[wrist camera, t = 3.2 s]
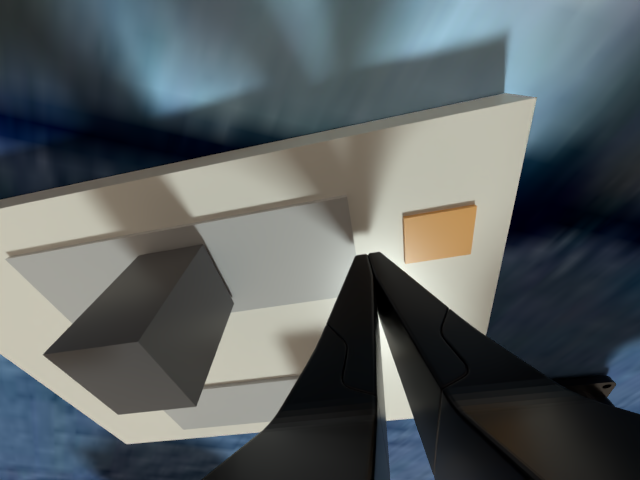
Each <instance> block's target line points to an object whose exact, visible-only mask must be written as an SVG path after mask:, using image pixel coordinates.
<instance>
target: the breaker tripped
mask: <svg viewBox="0 0 640 480" xmlns="http://www.w3.org/2000/svg"><path fill="white" fill-rule="evenodd" d="M233 305H234V302H233V300H232V298H231V296H230V294H229V293H228V291H227V289H226V287H225V285H224V283H223V281H222V279H221V277H220V275H219V274H218V272H217V270H216V268H215V266H214V264H213V262H212V260H211V258H210V256H209V255H208V253H207V251H206V249H205V247H204V245H203V244H201V245H195V246H189V247H184V248H178V249H172V250H166V251H161V252H155V253H149V254H143V255H139V256H138V257H137V258H136V259H135V260H134V261H133V262H132V263H131V264H130V265H129V266H128V267H127V268H126V269H125V270H124V271H123V272H122V273H121V274H120V275H119V276H118V277H117V278H116V279H115V280H114V281H113V282H112V283H111V284H110V286H109V287H108V288H107V289H106V290H105V291H104V292H103V293H102V294H101V295H100V296H99V297H98V298H97V299H96V300H95V301H94V302H93V303H92V304H91V305H90V306H89V307H88V308H87V309H86V310H85V311H84V312H83V313H82V314H81V315H80V316H79V317H78V319H77V320H76V321H75V322H74V323H73V324H72V325H71V326H70V327H69V328H68V329H67V330H66V331H65V332H64V333H63V334H62V335H61V336H60V337H59V338H58V339H57V340H56V341H55V342H54V343H53V344H52V345H51V346H50V347H49V348H48V349H47V350H46V352H45V353H44V354H43V356H45V357H46V358H47V359H48V360H50V361H51V362H52V363H53V364H55V365H56V366H57V367H58V368H60V369H61V370H62V371H63V372H65V373H66V374H67V375H68V376H70V377H71V378H72V379H74V380H75V381H76V382H77V383H79V384H80V385H81V386H82V387H84V388H85V389H86V390H87V391H89V392H90V393H91V394H92V395H94V396H95V397H96V398H97V399H99V400H100V401H101V402H102V403H104V404H105V405H106V406H107V407H109V408H110V409H111V410H112V411H114V412H115V413H116V414H118V415H122V414H131V413H141V412H150V411H160V410H170V409H179V408H189V407H196V406H197V404H198V401H199V398H200V395H201V393H202V390H203V387H204V384H205V382H206V379H207V376H208V373H209V371H210V368H211V365H212V363H213V360H214V357H215V354H216V352H217V349H218V346H219V343H220V341H221V338H222V335H223V333H224V330H225V327H226V324H227V322H228V319H229V316H230V313H231V311H232V308H233Z"/></svg>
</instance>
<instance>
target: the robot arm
mask: <svg viewBox="0 0 640 480" xmlns="http://www.w3.org/2000/svg"><path fill="white" fill-rule="evenodd" d="M378 315H379V317H378ZM379 318H380V322H381V325H382V328H383V331H384V333H385V336H386V339H387V342H388V345H389V348H390V351H391V354H392V357H393V359H394V362H395V365H396V368H397V371H398V374H399V377H400V380H401V383H402V385H403V388H404V391H405V394H406V397H407V400H408V403H409V406H410V409H411V411H412V414H413V417H414V420H415V423H416V426H417V429H418V432H419V435H420V437H421V440H422V443H423V446H424V449H425V452H426V455H427V458H428V461H429V464H430V466H431V469H432V472H433V474H434V478H435V480H640V414H637V413H634V412H631V411H627V410H624V409H620V408H617V407H615V406H614V405H613V404H612V403H611V401H610V400H609V399H608V398H607V397H608V395H609V394H610V393H611V391H612V390H613V389H614V387H615V386H616V383H615V382H614V381H613V380H612V379H611V378H610V377H609V376H598V377H588V378H578V379H568V380H558V381H553V380H551V379H550V378H548V377H547V376H545V375H544V374H542V373H541V372H539V371H538V370H536V369H535V368H533V367H532V366H530V365H529V364H527V363H526V362H524V361H523V360H521V359H520V358H518V357H517V356H515V355H514V354H512V353H511V352H509V351H508V350H506V349H505V348H503V347H502V346H500V345H499V344H497V343H496V342H494V341H493V340H491V339H490V338H488V337H487V336H485V335H484V334H483V333H481V332H480V331H478V330H477V329H476V328H474V327H473V326H472V325H470V324H469V323H468V322H466V321H465V320H464V319H463V318H461V317H460V316H459V315H457V314H456V313H455V312H454V311H453V310H451V309H449V307H447V306H446V305H445V304H444V303H443V302H441V301H440V300H439V299H438V298H436V297H435V296H434V295H433V294H432V293H430V292H429V291H428V290H427V289H425V288H424V287H423V286H422V285H420V284H419V283H418V282H417V281H416V280H414V279H413V278H412V277H411V276H409V275H408V274H407V273H406V272H404V271H403V270H402V269H401V268H400V267H398V266H397V265H396V264H395V263H393V262H392V261H391V260H390V259H388V258H387V257H386V256H385V255H384V254H382V253H381V252H373V253H369V254H368V255H367V254H360V255H356V256H355V257H354V259H353V262H352V264H351V267H350V269H349V271H348V274H347V276H346V278H345V281H344V283H343V285H342V288H341V290H340V292H339V295H338V297H337V299H336V302H335V304H334V307H333V309H332V311H331V314H330V316H329V318H328V321H327V323H326V326H325V327H324V330H323V332H322V334H321V337H320V339H319V341H318V343H317V345H316V347H315V349H314V351H313V353H312V355H311V357H310V359H309V360H308V362H307V364H306V366H305V367H304V369H303V371H302V372H301V374H300V376H299V378H298V379H297V381H296V383H295V384H294V386H293V388H292V389H291V391H290V393H289V394H288V396H287V398H286V399H285V401H284V403H283V405H282V406H281V408H280V409H279V411H278V413H277V414H276V415H275V417H274V418H273V419H272V421H271V422H270V423H269V424H268V425H267V426H266V427H265V428H264V429H263V430H262V431H261V432H260V433H259V434H258V435H256V436H255V437H254V438H253V439H251V440H250V441H249V442H248V443H246V444H245V445H244V446H243V447H241V448H240V449H239V450H238V451H236V452H235V453H234V454H233V455H231V456H230V457H229V458H228V459H226V460H225V461H224V462H223V463H222V464H220V465H219V466H218V467H217V468H215V469H214V470H213V471H212V472H210V473H209V474H208V475H207V476H205V477H204V478H203V479H202V480H390V469H389V455H388V441H387V427H386V413H385V399H384V385H383V371H382V357H381V342H380V328H379Z"/></svg>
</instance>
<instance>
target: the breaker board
mask: <svg viewBox="0 0 640 480" xmlns="http://www.w3.org/2000/svg"><path fill="white" fill-rule="evenodd" d="M536 99H537V97H530V96H523V95H515V94H508V93H503V94H498V95H493V96H489V97H484V98H479V99H475V100H470V101H465V102H460V103H456V104H451V105H446V106H441V107H437V108H432V109H427V110H422V111H418V112H413V113H408V114H404V115H399V116H394V117H389V118H385V119H380V120H375V121H370V122H366V123H361V124H356V125H351V126H347V127H342V128H337V129H332V130H328V131H323V132H318V133H314V134H309V135H304V136H299V137H295V138H290V139H285V140H280V141H276V142H271V143H266V144H261V145H257V146H252V147H247V148H242V149H238V150H233V151H228V152H224V153H219V154H214V155H209V156H205V157H200V158H195V159H190V160H186V161H181V162H176V163H171V164H167V165H162V166H157V167H153V168H148V169H143V170H138V171H134V172H129V173H124V174H119V175H115V176H110V177H105V178H100V179H96V180H91V181H86V182H81V183H77V184H72V185H67V186H63V187H58V188H53V189H48V190H44V191H39V192H34V193H29V194H25V195H20V196H15V197H10V198H6V199H1V200H0V354H1V355H3V356H4V357H5V358H7V359H8V360H10V361H11V362H12V363H14V364H15V365H17V366H18V367H19V368H21V369H22V370H24V371H25V372H26V373H28V374H29V375H31V376H32V377H33V378H35V379H36V380H38V381H39V382H40V383H42V384H43V385H45V386H46V387H47V388H49V389H50V390H51V391H53V392H54V393H56V394H57V395H58V396H60V397H61V398H63V399H64V400H65V401H67V402H68V403H70V404H71V405H72V406H74V407H75V408H77V409H78V410H79V411H81V412H82V413H84V414H85V415H86V416H88V417H89V418H91V419H92V420H93V421H95V422H96V423H97V424H99V425H100V426H102V427H103V428H104V429H106V430H107V431H109V432H110V433H111V434H113V435H114V436H116V437H117V438H118V439H120V440H121V441H123V442H124V443H125V444H135V443H146V442H157V441H168V440H179V439H190V438H201V437H212V436H223V435H234V434H245V433H256V432H261V431H262V430H263V429H264V428H265V427H266V426H267V425H268V424H269V423H270V422H271V421H272V419H273V418H274V417H275V415H276V414H277V413H278V411H279V409H280V408H281V406H282V405H283V403H284V401H285V399H286V398H287V396H288V394H289V393H290V391H291V389H292V388H293V386H294V384H295V383H296V381H297V379H298V378H299V376H300V374H301V372H302V371H303V369H304V367H305V366H306V364H307V362H308V360H309V359H310V357H311V355H312V353H313V351H314V349H315V347H316V345H317V343H318V341H319V339H320V337H321V334H322V332H323V330H324V327H325V326H326V323H327V321H328V318H329V316H330V314H331V311H332V309H333V307H334V304H335V302H336V299H337V297H338V295H339V292H340V290H341V288H342V285H343V283H344V281H345V278H346V276H347V274H348V271H349V269H350V267H351V264H352V262H353V259H354V257H355V256H356V255H360V254H367V255H368V254H369V253H373V252H381V253H382V254H384V255H385V256H386V257H387V258H388V259H390V260H391V261H392V262H393V263H395V264H396V265H397V266H398V267H400V268H401V269H402V270H403V271H404V272H406V273H407V274H408V275H409V276H411V277H412V278H413V279H414V280H416V281H417V282H418V283H419V284H420V285H422V286H423V287H424V288H425V289H427V290H428V291H429V292H430V293H432V294H433V295H434V296H435V297H436V298H438V299H439V300H440V301H441V302H443V303H444V304H445V305H446V306H447V307H449V309H451V310H453V311H454V312H455V313H456V314H457V315H459V316H460V317H461V318H463V319H464V320H465V321H466V322H468V323H469V324H470V325H472V326H473V327H474V328H476V329H477V330H478V331H480V332H481V333H483V334H484V335H485V336H486V333H487V329H488V324H489V319H490V315H491V310H492V305H493V301H494V296H495V291H496V287H497V282H498V277H499V272H500V268H501V263H502V258H503V254H504V249H505V244H506V240H507V235H508V230H509V226H510V221H511V216H512V212H513V207H514V202H515V198H516V193H517V188H518V184H519V179H520V174H521V169H522V165H523V160H524V155H525V151H526V146H527V141H528V137H529V132H530V127H531V123H532V118H533V113H534V109H535V104H536ZM201 244H203V245H204V247H205V249H206V251H207V253H208V255H209V256H210V258H211V260H212V262H213V264H214V266H215V268H216V270H217V272H218V274H219V275H220V277H221V279H222V281H223V283H224V285H225V287H226V289H227V291H228V293H229V294H230V296H231V298H232V300H233V302H234V305H233V308H232V311H231V313H230V316H229V319H228V322H227V324H226V327H225V330H224V333H223V335H222V338H221V341H220V343H219V346H218V349H217V352H216V354H215V357H214V360H213V363H212V365H211V368H210V371H209V373H208V376H207V379H206V382H205V384H204V387H203V390H202V393H201V395H200V398H199V401H198V404H197V406H196V407H189V408H179V409H170V410H160V411H150V412H141V413H131V414H122V415H118V414H116V413H115V412H114V411H112V410H111V409H110V408H109V407H107V406H106V405H105V404H104V403H102V402H101V401H100V400H99V399H97V398H96V397H95V396H94V395H92V394H91V393H90V392H89V391H87V390H86V389H85V388H84V387H82V386H81V385H80V384H79V383H77V382H76V381H75V380H74V379H72V378H71V377H70V376H68V375H67V374H66V373H65V372H63V371H62V370H61V369H60V368H58V367H57V366H56V365H55V364H53V363H52V362H51V361H50V360H48V359H47V358H46V357H45V356H43V354H44V353H45V352H46V350H47V349H48V348H49V347H50V346H51V345H52V344H53V343H54V342H55V341H56V340H57V339H58V338H59V337H60V336H61V335H62V334H63V333H64V332H65V331H66V330H67V329H68V328H69V327H70V326H71V325H72V324H73V323H74V322H75V321H76V320H77V319H78V317H79V316H80V315H81V314H82V313H83V312H84V311H85V310H86V309H87V308H88V307H89V306H90V305H91V304H92V303H93V302H94V301H95V300H96V299H97V298H98V297H99V296H100V295H101V294H102V293H103V292H104V291H105V290H106V289H107V288H108V287H109V286H110V284H111V283H112V282H113V281H114V280H115V279H116V278H117V277H118V276H119V275H120V274H121V273H122V272H123V271H124V270H125V269H126V268H127V267H128V266H129V265H130V264H131V263H132V262H133V261H134V260H135V259H136V258H137V257H138V256H139V255H143V254H149V253H155V252H161V251H166V250H172V249H178V248H184V247H189V246H195V245H201ZM378 317H379V315H378ZM379 328H380V342H381V357H382V371H383V385H384V399H385V413H386V421H389V420H400V419H411V418H414V417H413V414H412V411H411V409H410V406H409V403H408V400H407V397H406V394H405V391H404V388H403V385H402V383H401V380H400V377H399V374H398V371H397V368H396V365H395V362H394V359H393V357H392V354H391V351H390V348H389V345H388V342H387V339H386V336H385V333H384V331H383V328H382V325H381V322H380V318H379Z"/></svg>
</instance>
